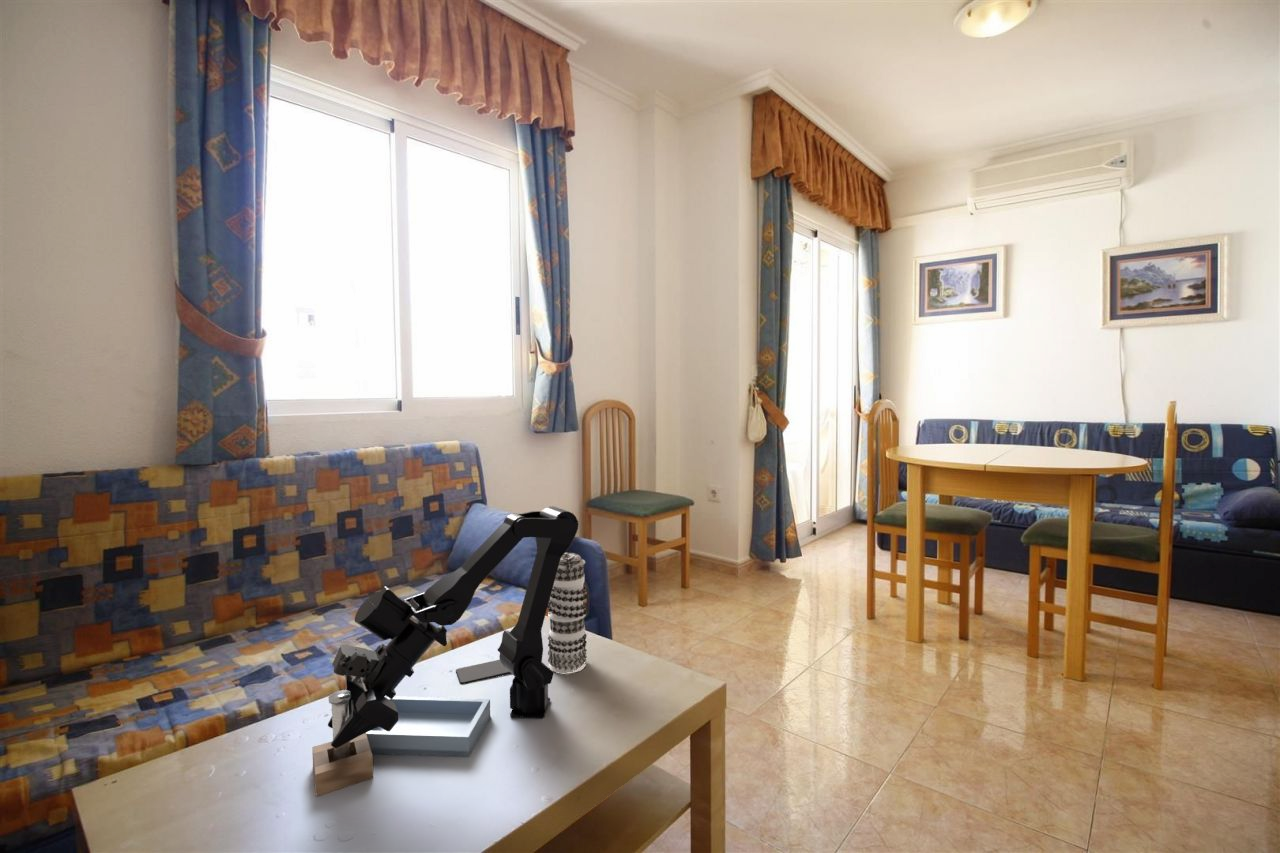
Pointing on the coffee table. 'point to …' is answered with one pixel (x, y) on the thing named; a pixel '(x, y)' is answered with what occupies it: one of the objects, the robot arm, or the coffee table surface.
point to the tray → (432, 727)
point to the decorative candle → (567, 616)
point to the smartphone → (481, 672)
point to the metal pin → (340, 720)
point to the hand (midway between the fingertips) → (331, 736)
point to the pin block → (342, 766)
